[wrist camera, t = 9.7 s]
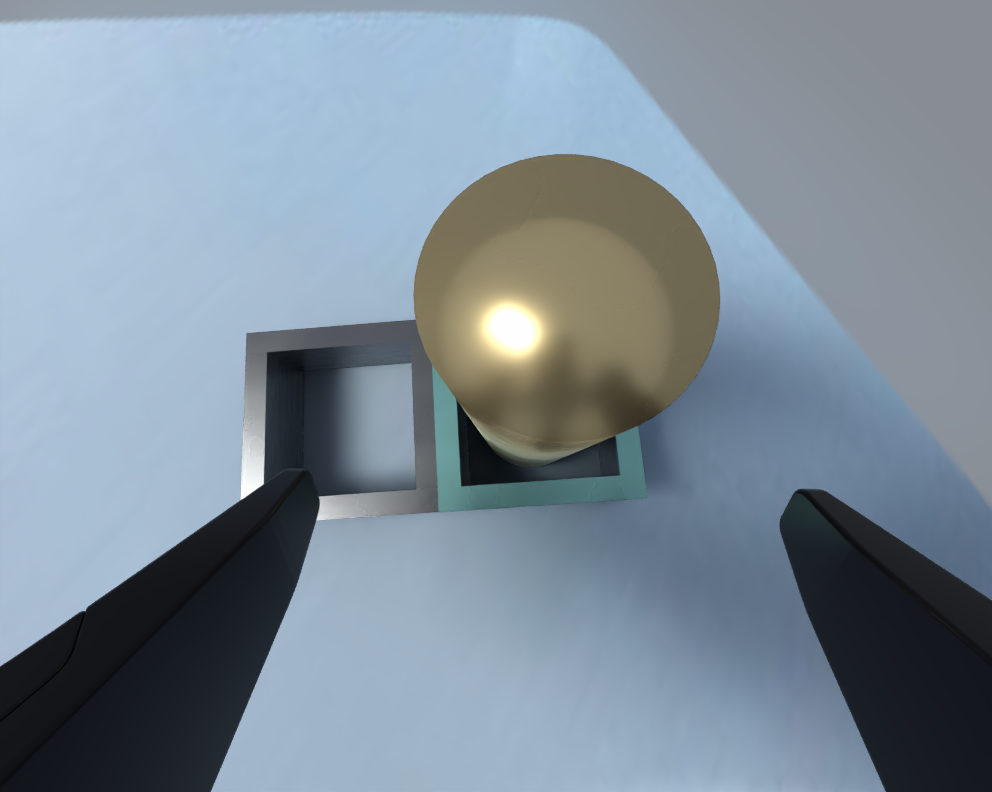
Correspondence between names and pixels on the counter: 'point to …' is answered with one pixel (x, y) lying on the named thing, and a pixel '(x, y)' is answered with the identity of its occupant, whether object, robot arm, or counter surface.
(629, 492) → the hole rail
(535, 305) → the brass post
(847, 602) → the robot arm
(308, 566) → the counter surface
